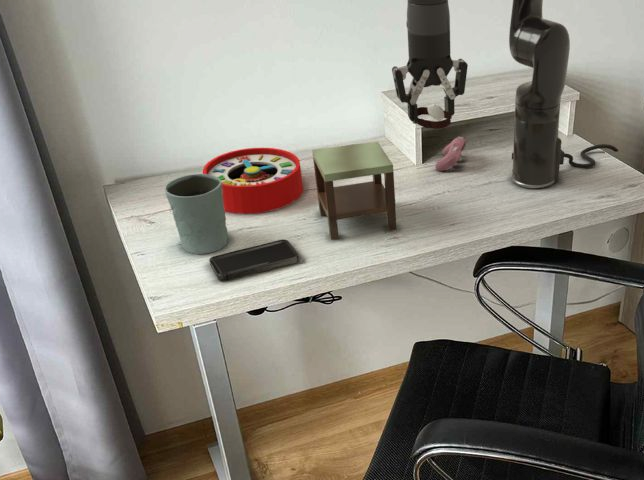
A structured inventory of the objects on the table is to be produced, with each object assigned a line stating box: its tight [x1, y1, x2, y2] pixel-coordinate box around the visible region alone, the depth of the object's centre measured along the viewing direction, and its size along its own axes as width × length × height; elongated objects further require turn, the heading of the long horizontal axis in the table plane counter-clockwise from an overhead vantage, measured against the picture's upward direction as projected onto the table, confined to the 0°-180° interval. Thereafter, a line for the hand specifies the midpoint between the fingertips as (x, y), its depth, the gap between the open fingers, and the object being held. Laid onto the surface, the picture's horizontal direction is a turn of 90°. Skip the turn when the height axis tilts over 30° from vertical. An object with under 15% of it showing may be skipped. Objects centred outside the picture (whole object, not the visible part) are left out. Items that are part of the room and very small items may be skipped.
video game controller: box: [435, 135, 468, 172], centre depth 182 cm, size 10×5×7 cm, turn 168°
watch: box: [416, 103, 452, 130], centre depth 152 cm, size 8×5×4 cm, turn 59°
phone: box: [208, 239, 300, 282], centre depth 149 cm, size 8×1×15 cm
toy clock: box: [202, 147, 304, 215], centre depth 171 cm, size 20×6×20 cm
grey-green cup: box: [164, 173, 229, 255], centre depth 152 cm, size 10×10×12 cm
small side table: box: [311, 140, 398, 241], centre depth 158 cm, size 13×12×14 cm
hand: (431, 119), depth 153 cm, fingers closed on watch, 6 cm apart
